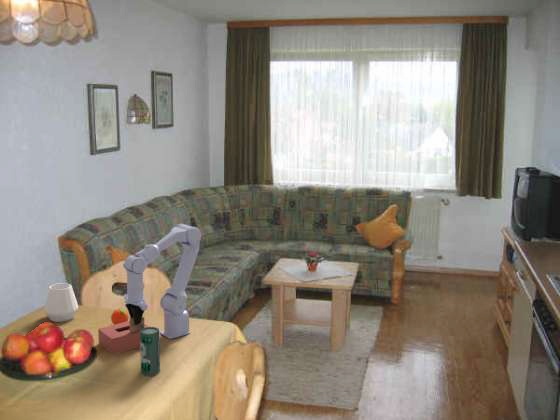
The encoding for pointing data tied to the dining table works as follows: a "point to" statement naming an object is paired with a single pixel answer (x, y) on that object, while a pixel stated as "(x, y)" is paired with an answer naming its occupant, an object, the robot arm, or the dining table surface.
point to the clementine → (119, 316)
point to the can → (150, 351)
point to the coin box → (119, 338)
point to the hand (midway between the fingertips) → (136, 322)
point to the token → (136, 327)
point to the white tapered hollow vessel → (60, 302)
